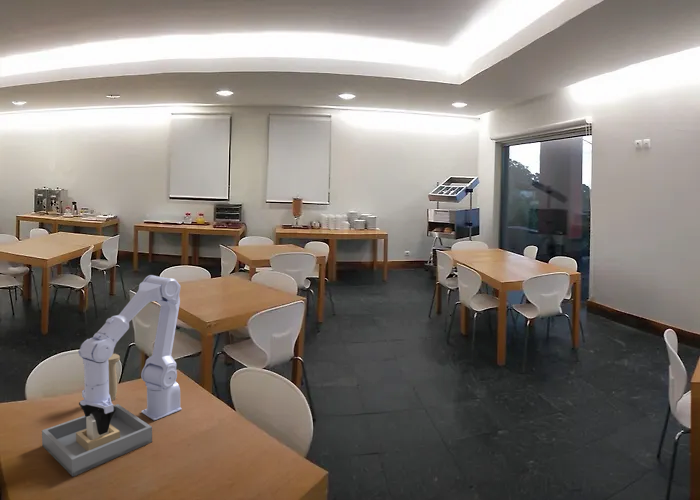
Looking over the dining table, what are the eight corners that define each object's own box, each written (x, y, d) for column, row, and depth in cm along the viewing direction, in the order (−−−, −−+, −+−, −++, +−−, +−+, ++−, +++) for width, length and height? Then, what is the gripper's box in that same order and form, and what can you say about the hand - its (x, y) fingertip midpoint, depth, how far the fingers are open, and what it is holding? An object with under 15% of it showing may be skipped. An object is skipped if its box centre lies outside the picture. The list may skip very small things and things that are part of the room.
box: (118, 417, 131) (118, 404, 130) (152, 441, 119) (152, 426, 119) (42, 445, 115) (41, 430, 114) (72, 476, 103) (72, 459, 103)
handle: (110, 404, 139) (109, 360, 137) (97, 399, 142) (96, 356, 140) (123, 398, 143) (122, 356, 141) (111, 394, 146) (110, 352, 144)
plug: (102, 434, 120) (101, 408, 119) (108, 440, 117) (108, 413, 116) (86, 440, 116) (86, 414, 116) (93, 446, 114) (92, 419, 113)
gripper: (69, 378, 116) (70, 425, 118) (92, 395, 107) (93, 445, 109) (96, 371, 122) (98, 415, 123) (121, 386, 113) (121, 433, 115)
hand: (97, 428), depth 116 cm, fingers open, 6 cm apart
